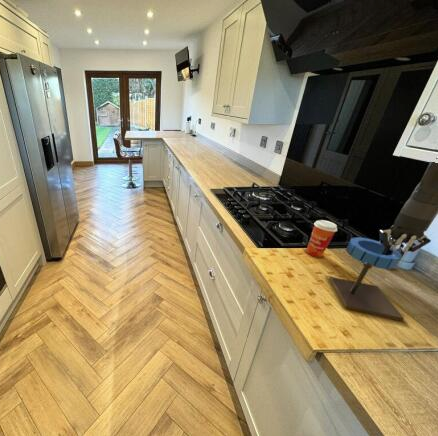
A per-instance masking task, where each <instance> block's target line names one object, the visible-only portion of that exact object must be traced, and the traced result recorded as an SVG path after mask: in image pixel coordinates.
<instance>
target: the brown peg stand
mask: <svg viewBox="0 0 438 436" xmlns="http://www.w3.org/2000/svg"><path fill="white" fill-rule="evenodd" d="M362 266H363V267H362V269H361V270H360V273H359V274H358V276H357V278H356V280H349V279H344V278H339V277H334V276H329V278H328V280H329V282H330V284H331V286H332V288H333V289H334V292H336V294H337V296H338V298H339V300H340V301H341V303H342V305H343V306H344V308H345V309H347V310H351V311H356V312H360V313H364V314H369V315H373V316H377V317H382V318H386V319H391V320H396V321H400V322H403V320H404V319H405V318H404V317H403V315H402V314H401V312H399V310H398V308H396V307H395V306H394V304H393V303H392V301H390V300H389V298H388V297H387V296H386V294H385V293H384V291H382V289H381V288H380V287H379V286H378V285H375V284H374V285H373V284H368V283H363V280H364V278H365V277H366V275H367V273H368V271H369V269H372V268H373V266H372V264H371V263H369V262H365V263H362Z"/></svg>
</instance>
